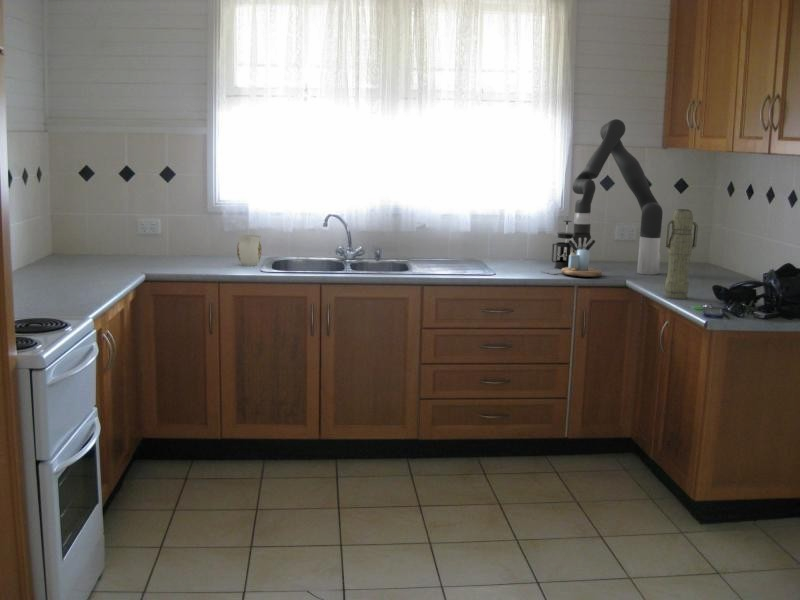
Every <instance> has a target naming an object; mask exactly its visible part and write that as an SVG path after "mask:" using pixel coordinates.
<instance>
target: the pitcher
mask: <svg viewBox="0 0 800 600" xmlns="http://www.w3.org/2000/svg"><path fill="white" fill-rule="evenodd" d="M237 239H238V241H237V242H238V243H237V245H236V246H237V247H236V254H237V257H238V261H239V263H240V264H241V266H245V267H254V266H257V265H258V264H259V262H260V259H261V257H262V244H261V235H257V234H255V235H254V234H240V235H238V236H237Z"/></svg>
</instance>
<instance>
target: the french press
mask: <svg viewBox="0 0 800 600" xmlns="http://www.w3.org/2000/svg"><path fill="white" fill-rule="evenodd" d="M563 222H565V225H566V230H565V231H562V232H556V234H557V238H558V239H563V240H564V239H565V240H570V239H571V238H572V236H573V234H574V232H571V231H570V232H569V231H568V225H569V223H571V222H572V220H567V219H566V220H563ZM573 244H574V245H575V246H576V243H575V242H574V243H573ZM551 247H552V248H551V263H554V267H555V268H554V267H553V268H554V269H556V268H558V269H557V270H562V268H565V267H568V264H569V255H570V252H571V248H572V247H571V245H570V244H569V243H568V241H565V242H556V243H552V246H551ZM558 248H560V250H559V253H558ZM572 252H576V251H575V250H574V249H573V248H572ZM554 254H555V255H554ZM554 256H555V257H554ZM558 257H559V259H558ZM554 258H555V259H554ZM564 258H566V259H564Z"/></svg>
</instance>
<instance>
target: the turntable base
mask: <svg viewBox="0 0 800 600" xmlns="http://www.w3.org/2000/svg"><path fill="white" fill-rule="evenodd" d="M571 276H572V277H575V276H574V275H571ZM577 278H592V276H578V277H577Z"/></svg>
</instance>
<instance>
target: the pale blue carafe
mask: <svg viewBox="0 0 800 600" xmlns="http://www.w3.org/2000/svg"><path fill="white" fill-rule="evenodd" d="M589 261H590V249H589V250H586V249H578V250H577V251H576V254H575V255H569V264H568V268H570V269H572V268H574V265H576V266H577V267H576V270H579V271H588V268H589V263H590V262H589Z"/></svg>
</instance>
